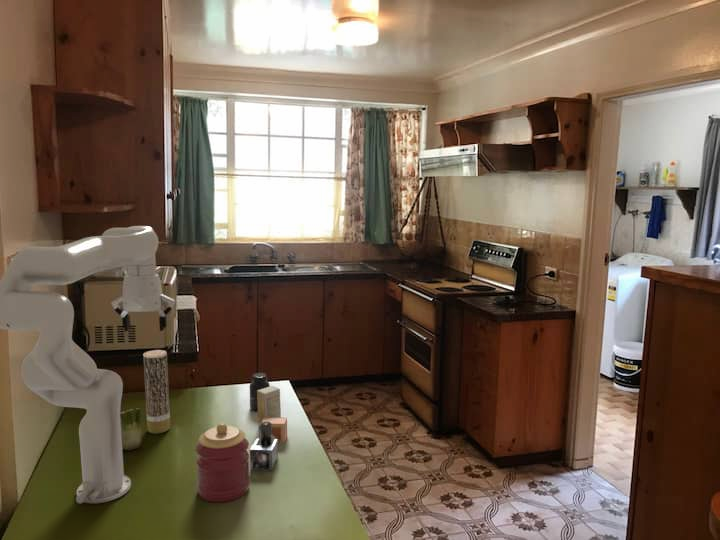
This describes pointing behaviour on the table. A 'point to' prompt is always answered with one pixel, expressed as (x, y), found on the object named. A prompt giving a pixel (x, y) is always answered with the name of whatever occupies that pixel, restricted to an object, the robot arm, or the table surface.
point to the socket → (278, 428)
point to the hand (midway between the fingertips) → (145, 329)
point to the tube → (265, 443)
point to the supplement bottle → (257, 388)
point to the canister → (222, 464)
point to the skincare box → (268, 403)
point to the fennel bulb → (131, 429)
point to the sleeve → (256, 448)
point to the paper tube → (156, 391)
